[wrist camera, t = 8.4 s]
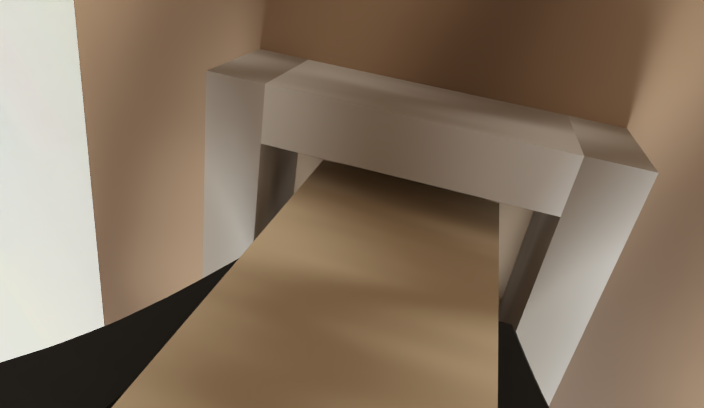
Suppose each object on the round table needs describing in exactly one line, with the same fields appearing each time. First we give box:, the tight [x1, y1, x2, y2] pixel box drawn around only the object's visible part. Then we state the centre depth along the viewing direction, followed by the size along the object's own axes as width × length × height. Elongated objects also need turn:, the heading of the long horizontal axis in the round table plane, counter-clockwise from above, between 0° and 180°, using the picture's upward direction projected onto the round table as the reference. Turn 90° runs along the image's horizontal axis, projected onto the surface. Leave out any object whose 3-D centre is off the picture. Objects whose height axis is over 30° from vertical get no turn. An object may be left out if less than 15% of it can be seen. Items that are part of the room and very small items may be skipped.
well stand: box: [74, 0, 704, 408], centre depth 13 cm, size 18×18×4 cm
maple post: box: [112, 160, 499, 408], centre depth 9 cm, size 4×4×8 cm
